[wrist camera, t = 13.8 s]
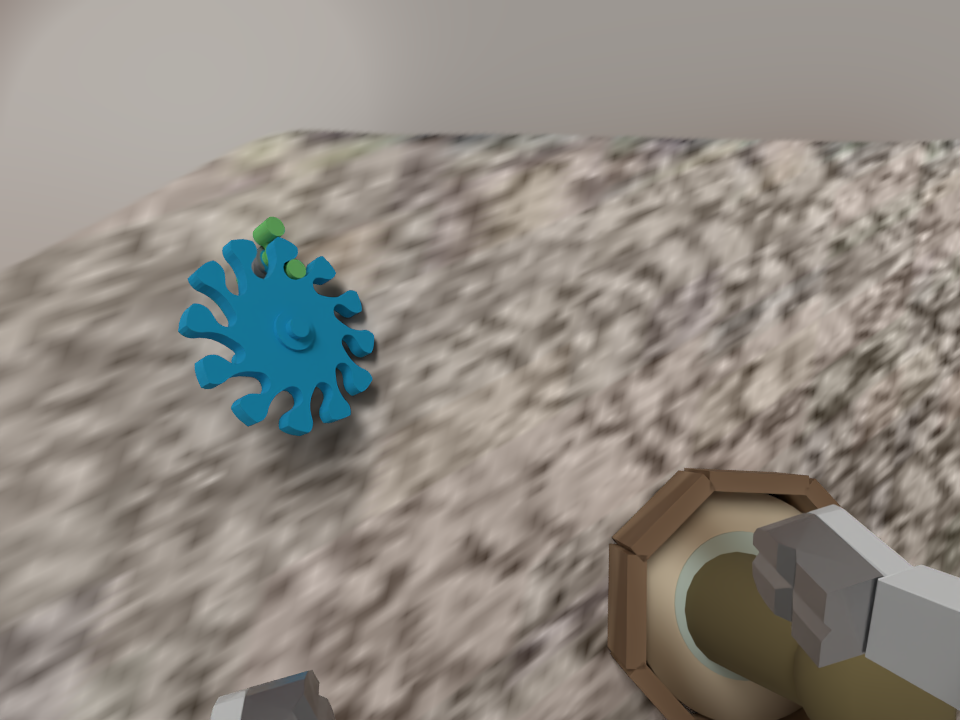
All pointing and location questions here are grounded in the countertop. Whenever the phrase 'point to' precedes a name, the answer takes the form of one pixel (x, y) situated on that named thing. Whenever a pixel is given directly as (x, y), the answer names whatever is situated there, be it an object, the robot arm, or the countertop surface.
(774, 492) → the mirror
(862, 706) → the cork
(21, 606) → the countertop surface
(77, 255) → the countertop surface
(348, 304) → the gear
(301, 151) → the countertop surface
